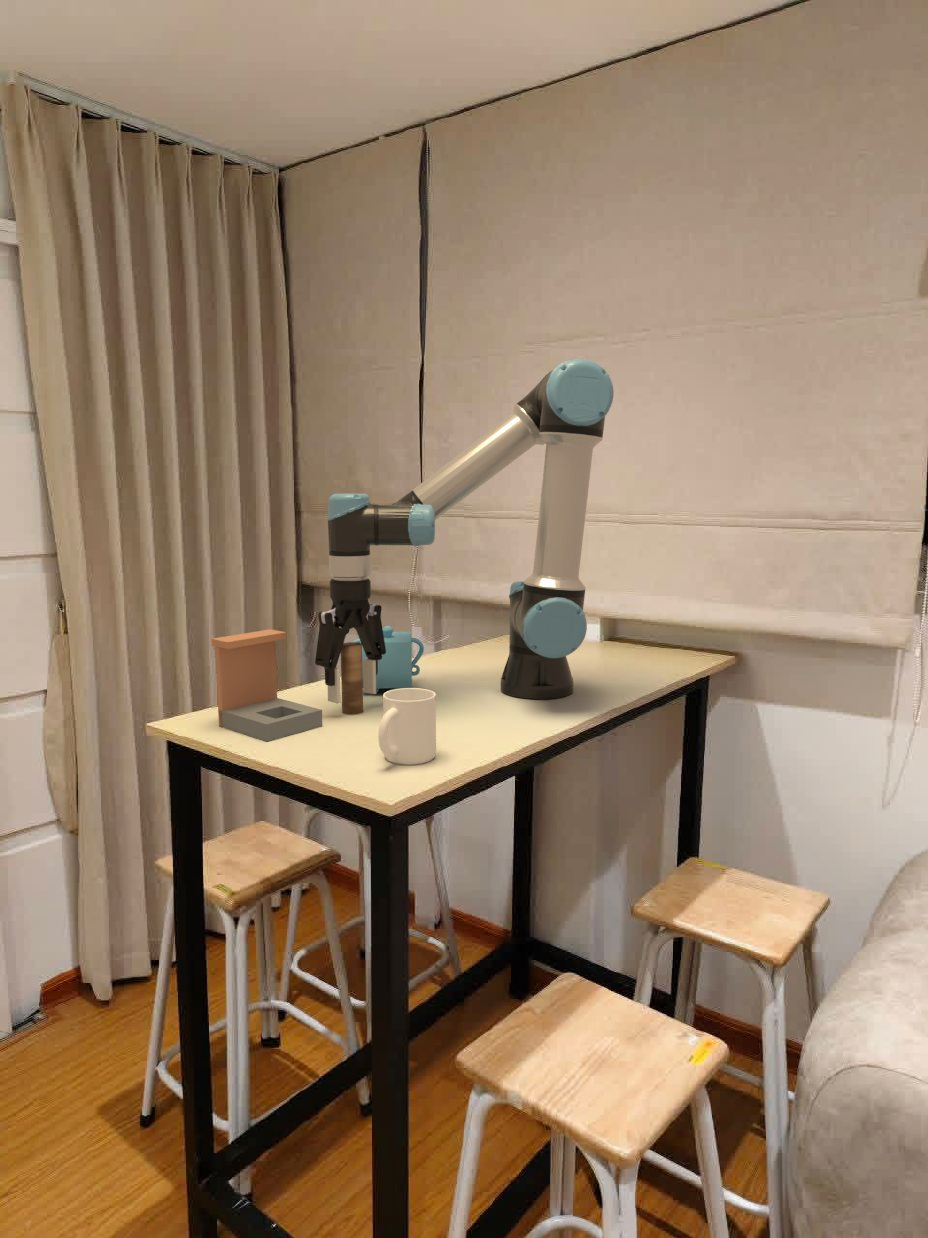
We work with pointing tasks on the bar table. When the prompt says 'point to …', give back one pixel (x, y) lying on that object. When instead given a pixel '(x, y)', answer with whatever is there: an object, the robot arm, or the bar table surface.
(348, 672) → the walnut peg
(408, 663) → the teal cube teapot
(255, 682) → the socket stand
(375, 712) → the bar table surface
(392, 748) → the mug
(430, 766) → the bar table surface
